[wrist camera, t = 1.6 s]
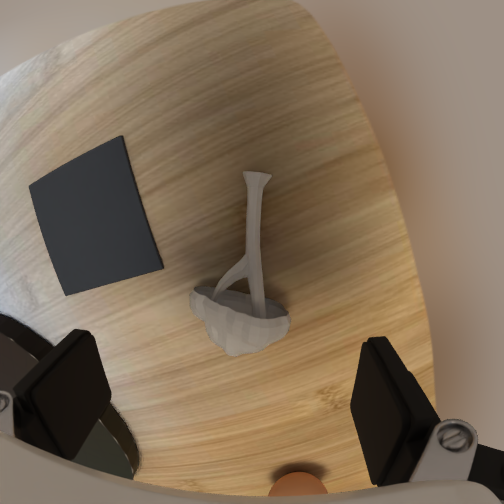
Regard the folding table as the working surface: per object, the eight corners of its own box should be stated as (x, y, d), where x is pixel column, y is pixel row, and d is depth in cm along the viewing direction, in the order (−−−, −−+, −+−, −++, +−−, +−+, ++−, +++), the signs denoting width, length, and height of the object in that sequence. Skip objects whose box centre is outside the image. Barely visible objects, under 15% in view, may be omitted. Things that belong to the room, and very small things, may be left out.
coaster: (30, 185, 20) (28, 186, 20) (122, 135, 19) (120, 135, 18) (67, 295, 22) (65, 296, 22) (164, 267, 21) (162, 269, 21)
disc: (169, 495, 31) (165, 511, 28) (24, 453, 33) (17, 463, 30) (82, 314, 23) (64, 330, 20) (-55, 306, 25) (-68, 314, 22)
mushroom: (307, 173, 15) (275, 382, 17) (314, 184, 20) (288, 351, 21) (186, 164, 17) (171, 354, 19) (217, 174, 22) (201, 331, 23)
